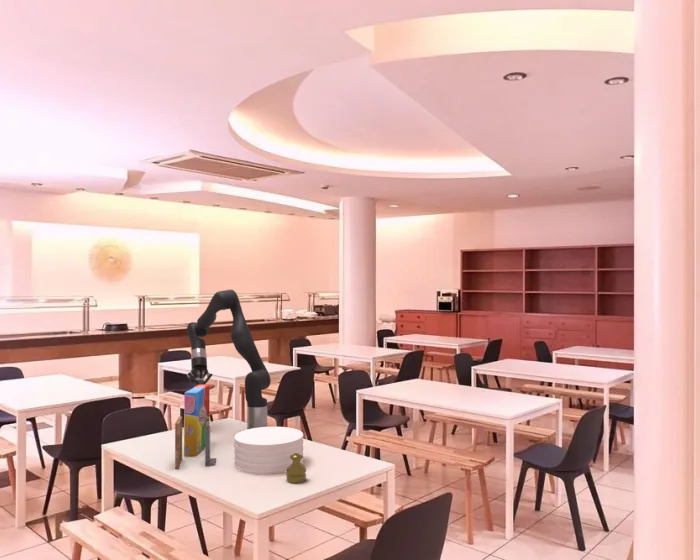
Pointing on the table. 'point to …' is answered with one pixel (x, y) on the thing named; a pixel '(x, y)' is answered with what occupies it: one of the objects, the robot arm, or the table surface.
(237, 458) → the plate stack
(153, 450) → the table surface
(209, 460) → the dark metal bookend
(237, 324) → the robot arm
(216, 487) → the table surface
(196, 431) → the game box
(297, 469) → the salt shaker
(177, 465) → the oak shelf wall
